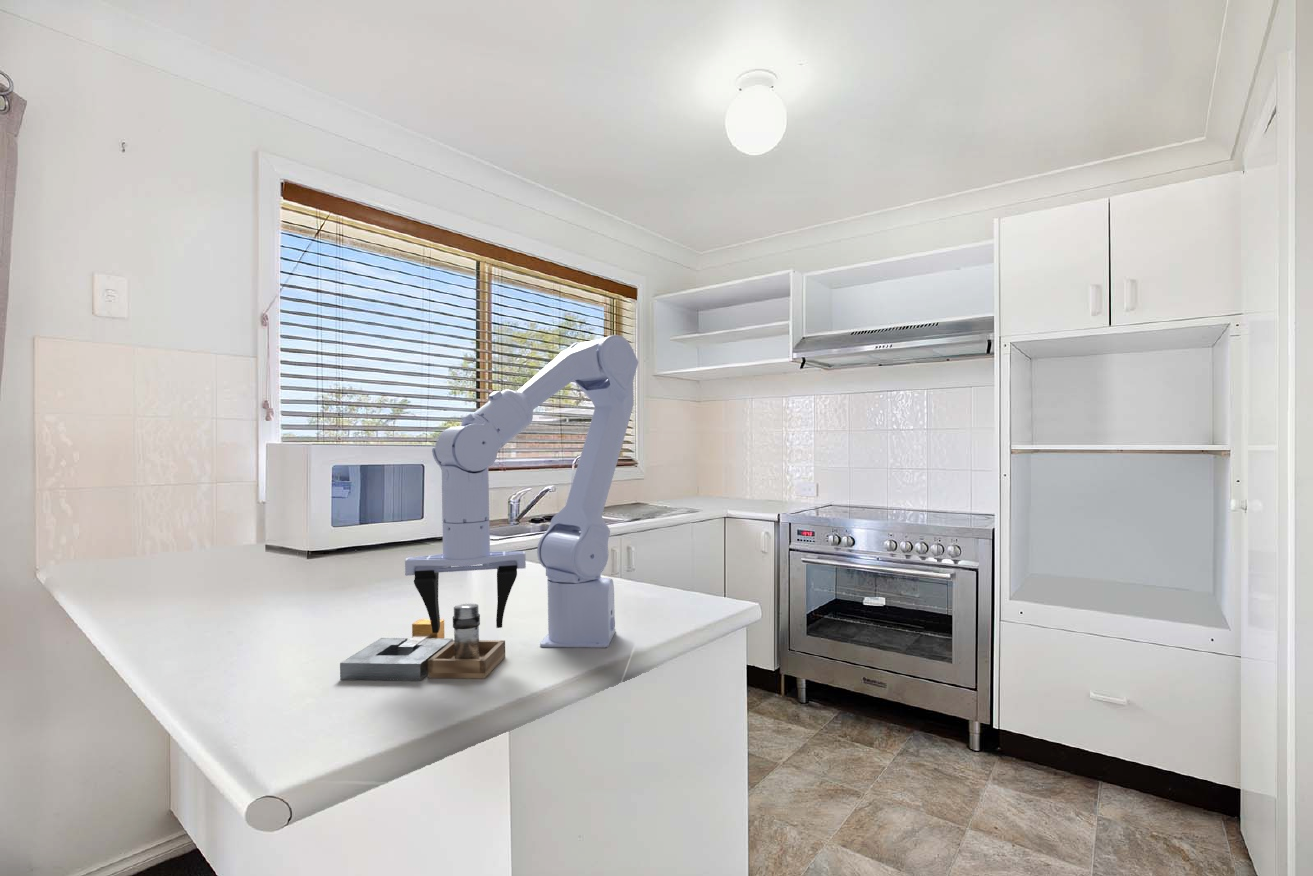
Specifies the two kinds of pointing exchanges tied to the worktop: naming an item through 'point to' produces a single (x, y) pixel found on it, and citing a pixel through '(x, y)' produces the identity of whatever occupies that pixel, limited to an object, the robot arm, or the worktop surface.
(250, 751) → the worktop surface
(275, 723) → the worktop surface
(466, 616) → the silver metal canister
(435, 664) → the square wooden tray
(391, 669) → the socket
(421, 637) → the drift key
